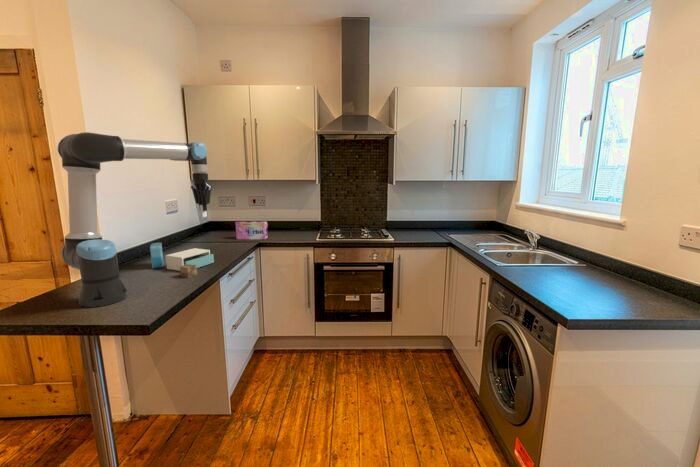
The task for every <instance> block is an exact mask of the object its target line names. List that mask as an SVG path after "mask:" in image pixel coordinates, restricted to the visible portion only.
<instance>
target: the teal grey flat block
mask: <svg viewBox="0 0 700 467" xmlns="http://www.w3.org/2000/svg"><path fill="white" fill-rule="evenodd" d="M194 258H196V259H193V260H189V261H186V262H185V264H184V265H187V264H192V265H196V268H200V267H204V266H207V265H210V264H213V263H215V257H214V253H210V255H207V256H203V257H194Z"/></svg>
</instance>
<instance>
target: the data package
mask: <svg viewBox="0 0 700 467" xmlns="http://www.w3.org/2000/svg"><path fill="white" fill-rule="evenodd" d="M149 251H150V259H151V260H150V261H151V268H152V269H160V268H163V267H164V253H163V246H162V242H154V243H153V242H152V243H151V244H150V246H149Z"/></svg>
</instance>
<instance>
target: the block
mask: <svg viewBox="0 0 700 467" xmlns="http://www.w3.org/2000/svg"><path fill="white" fill-rule="evenodd" d="M179 272H180V277H182V278H188V279H189V278H192V277H194V276H197V275H198V269H197V268H196V265H192V264H187V265H184V266H181V267H180V271H179Z"/></svg>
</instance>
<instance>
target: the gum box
mask: <svg viewBox="0 0 700 467" xmlns="http://www.w3.org/2000/svg"><path fill="white" fill-rule="evenodd" d="M234 223H235V224H234V225H235V235H236V236H235V237H236V240H266V239H268V225H269V223H268V221H267V220H237V221H235V222H234Z"/></svg>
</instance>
